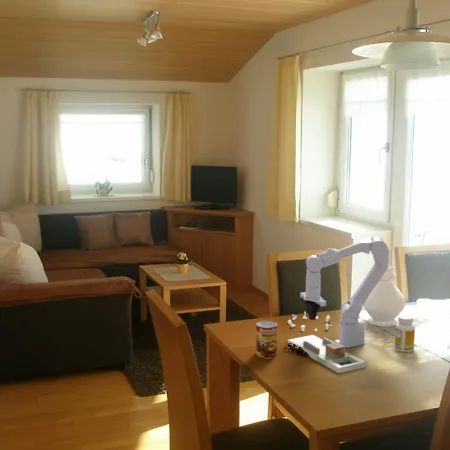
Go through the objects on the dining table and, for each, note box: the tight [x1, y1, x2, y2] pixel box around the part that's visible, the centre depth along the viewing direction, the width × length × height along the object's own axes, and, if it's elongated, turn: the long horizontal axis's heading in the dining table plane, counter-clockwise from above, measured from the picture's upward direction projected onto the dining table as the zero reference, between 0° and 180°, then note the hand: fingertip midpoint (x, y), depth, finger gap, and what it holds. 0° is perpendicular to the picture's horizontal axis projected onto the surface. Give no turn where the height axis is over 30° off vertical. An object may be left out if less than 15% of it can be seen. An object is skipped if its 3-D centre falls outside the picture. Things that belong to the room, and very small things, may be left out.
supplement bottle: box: [394, 314, 416, 353], centre depth 243 cm, size 7×7×13 cm
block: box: [325, 342, 346, 359], centre depth 232 cm, size 5×5×4 cm
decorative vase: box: [363, 264, 406, 328], centre depth 275 cm, size 18×18×25 cm
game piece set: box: [287, 311, 333, 333], centre depth 273 cm, size 19×20×4 cm
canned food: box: [255, 320, 278, 358], centre depth 238 cm, size 8×8×12 cm
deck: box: [287, 334, 367, 374], centre depth 238 cm, size 12×32×4 cm, turn 28°
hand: (312, 319), depth 250 cm, fingers closed
